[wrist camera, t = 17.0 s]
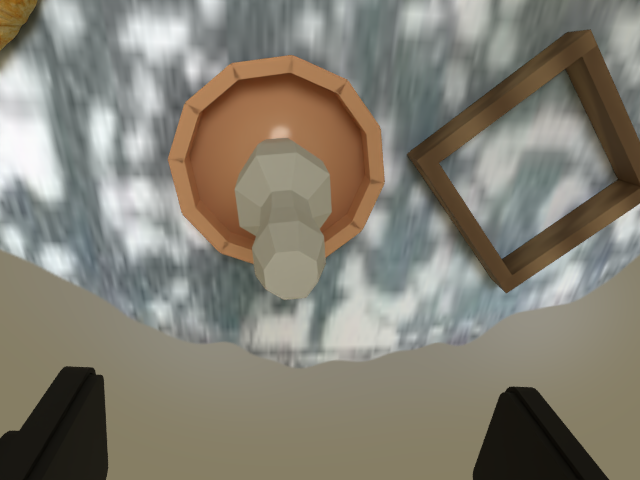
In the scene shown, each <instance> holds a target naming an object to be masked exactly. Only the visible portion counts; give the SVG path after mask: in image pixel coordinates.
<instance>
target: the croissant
mask: <svg viewBox="0 0 640 480" xmlns="http://www.w3.org/2000/svg"><path fill="white" fill-rule="evenodd" d="M36 4H37V0H0V51H1V50H2V49H3V48H4V47H5V46H6V45H7V43H9V42H10V41H12V40H13V39H14V38H15V36H16V35H17V34H18V32H19V30H20V28H21V26H22V25H23V24H25V23H26V22H27V20H28V17H29V15H30V14H31V12H32V11H33V10H34V8H35V6H36Z"/></svg>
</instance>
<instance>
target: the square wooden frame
mask: <svg viewBox="0 0 640 480" xmlns="http://www.w3.org/2000/svg"><path fill="white" fill-rule="evenodd" d="M564 69H566V71H567V73H568V75H569V78H570V80H571V82H572V84H573V86H574V88H575V90H576V92H577V94H578V96H579V98H580V101H581V103H582V105H583V107H584V109H585V111H586V113H587V115H588V117H589V119H590V121H591V124H592V126H593V128H594V130H595V132H596V134H597V136H598V138H599V140H600V142H601V145H602V147H603V149H604V151H605V153H606V155H607V157H608V159H609V161H610V163H611V165H612V168H613V170H614V172H615V174H616V176H617V178H618V180H617V181H615V182H614V183H612V184H611V185H609V186H608V187H606V188H605V189H604V190H602V191H601V192H599V193H598V194H596V195H595V196H593V197H592V198H590V199H589V200H588V201H586V202H585V203H583V204H582V205H580V206H579V207H577V208H576V209H575V210H573V211H572V212H570V213H569V214H567V215H566V216H564V217H563V218H561V219H560V220H559V221H557V222H556V223H554V224H553V225H551V226H550V227H548V228H547V229H545V230H544V231H543V232H541V233H540V234H538V235H537V236H535V237H534V238H532V239H531V240H530V241H528V242H527V243H525V244H524V245H522V246H521V247H519V248H518V249H516V250H515V251H514V252H512V253H511V254H509V255H508V256H506V257H505V258H503V259H501V258H500V256H499V254H498V253H497V251H496V250H495V248H494V247H493V245H492V244H491V242H490V241H489V239H488V238H487V236H486V235H485V233H484V232H483V230H482V228H481V227H480V225H479V224H478V222H477V221H476V219H475V218H474V216H473V215H472V213H471V212H470V210H469V209H468V207H467V205H466V204H465V202H464V201H463V199H462V198H461V196H460V195H459V193H458V192H457V190H456V189H455V187H454V186H453V184H452V182H451V181H450V179H449V178H448V176H447V175H446V173H445V172H444V170H443V169H442V167H441V166H440V164H439V163H440V162H441V161H442V160H444V159H445V158H446V157H448V156H449V155H450V154H452V153H453V152H454V151H456V150H457V149H458V148H460V147H461V146H462V145H464V144H465V143H466V142H468V141H469V140H470V139H472V138H473V137H474V136H476V135H477V134H478V133H480V132H481V131H483V130H484V129H485V128H487V127H488V126H489V125H491V124H492V123H493V122H495V121H496V120H497V119H499V118H500V117H501V116H503V115H504V114H505V113H507V112H508V111H509V110H511V109H512V108H513V107H515V106H516V105H517V104H519V103H520V102H521V101H523V100H524V99H525V98H527V97H528V96H529V95H531V94H532V93H534V92H535V91H536V90H538V89H539V88H540V87H542V86H543V85H544V84H546V83H547V82H548V81H550V80H551V79H552V78H554V77H555V76H556V75H558V74H559V73H560V72H562V71H563V70H564ZM407 155H408V156H409V158H410V159H411V161H412V162H413V164H414V165H415V167H416V168H417V170H418V171H419V173H420V174H421V176H422V177H423V179H424V180H425V181H426V183H427V184H428V186H429V187H430V189H431V190H432V192H433V193H434V195H435V196H436V198H437V199H438V201H439V202H440V204H441V205H442V207H443V208H444V209H445V211H446V212H447V214H448V215H449V217H450V218H451V220H452V221H453V223H454V224H455V226H456V227H457V229H458V230H459V232H460V233H461V234H462V236H463V237H464V239H465V240H466V242H467V243H468V245H469V246H470V248H471V249H472V251H473V252H474V254H475V255H476V257H477V258H478V260H479V261H480V262H481V264H482V265H483V267H484V268H485V270H486V271H487V273H488V274H489V276H490V277H491V279H492V280H493V281H494V282H495V283H496V284H497V285H498V286H499V287H500V288H501V289H502V290H503V291H504V292H505V293H508V292H509V291H511V290H512V289H514V288H515V287H517V286H518V285H520V284H521V283H523V282H524V281H526V280H527V279H528V278H530V277H531V276H533V275H534V274H536V273H537V272H539V271H540V270H542V269H543V268H545V267H546V266H548V265H549V264H551V263H552V262H554V261H555V260H557V259H558V258H560V257H561V256H563V255H564V254H566V253H567V252H569V251H570V250H571V249H573V248H574V247H576V246H577V245H579V244H580V243H582V242H583V241H585V240H586V239H588V238H589V237H591V236H592V235H594V234H595V233H597V232H598V231H600V230H601V229H603V228H604V227H606V226H607V225H609V224H610V223H612V222H613V221H615V220H616V219H617V218H619V217H620V216H622V215H623V214H625V213H626V212H628V211H629V210H631V209H632V208H634V207H635V206H637V205H638V204H640V141H639V139H638V137H637V134H636V132H635V130H634V128H633V125H632V123H631V121H630V118H629V116H628V114H627V112H626V109H625V107H624V105H623V102H622V100H621V98H620V96H619V93H618V91H617V89H616V86H615V84H614V82H613V80H612V77H611V75H610V73H609V70H608V68H607V66H606V64H605V61H604V59H603V57H602V54H601V52H600V50H599V48H598V45H597V43H596V41H595V38H594V36H593V34H592V32H591V30H583V31H574V32H567V33H566V34H564V35H563V36H562V37H560V38H559V39H558V40H556V41H555V42H554V43H552V44H551V45H550V46H548V47H547V48H546V49H544V50H543V51H542V52H541V53H539V54H538V55H537V56H535V57H534V58H533V59H531V60H530V61H529V62H527V63H526V64H525V65H523V66H522V67H521V68H519V69H518V70H517V71H515V72H514V73H513V74H512V75H510V76H509V77H508V78H506V79H505V80H504V81H502V82H501V83H500V84H498V85H497V86H496V87H494V88H493V89H492V90H490V91H489V92H488V93H486V94H485V95H484V96H483V97H481V98H480V99H479V100H477V101H476V102H475V103H473V104H472V105H471V106H469V107H468V108H467V109H465V110H464V111H463V112H461V113H460V114H459V115H457V116H456V117H455V118H453V119H452V120H451V121H450V122H448V123H447V124H446V125H444V126H443V127H442V128H440V129H439V130H438V131H436V132H435V133H434V134H432V135H431V136H430V137H428V138H427V139H426V140H424V141H423V142H422V143H421V144H419V145H418V146H417V147H415V148H414V149H413V150H411V151H410V152H409V153H407Z"/></svg>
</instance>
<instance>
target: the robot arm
mask: <svg viewBox="0 0 640 480" xmlns="http://www.w3.org/2000/svg"><path fill="white" fill-rule="evenodd" d="M107 471H108V453H107V433H106V413H105V395H104V379H103V376H102V375H96V373H95V370H94V368H90V367H68V366H66V367H64V368H63V369H62V370H61V371H60V373H59V374H58V375H57V377H56V378H55V380H54V381H53V383H52V384H51V385H50V387H49V388H48V390H47V391H46V393H45V394H44V396H43V397H42V398H41V400H40V402H39V403H38V404H37V406H36V407H35V409H34V410H33V412H32V413H31V415H30V416H29V417H28V419H27V420H26V422H25V423H24V425H23V426H22V428H21V429H20V431H8V432H7V433H5V434H4V435H3V436H2V437H1V438H0V480H106V477H107ZM473 480H609V479H608V478H607V476H606V475H605V474H604V473H603V472H602V470H601V469H600V468H599V466H598V465H597V464H596V463H595V462H594V460H593V459H592V458H591V457H590V455H589V454H588V453H587V452H586V450H585V449H584V448H583V447H582V445H581V444H580V443H579V442H578V441H577V439H576V438H575V437H574V436H573V434H572V433H571V432H570V430H569V429H568V428H567V427H566V426H565V424H564V423H563V422H562V421H561V419H560V418H559V417H558V416H557V414H556V413H555V412H554V411H553V409H552V408H551V407H550V406H549V404H548V403H547V402H546V401H545V400H544V398H543V397H542V396H541V395H540V393H539V392H538V391H537V390H536V389H534V388H532V387H509V388H508V389H507V390H506V391H505V392H504V393H502V394H501V395H500V397H499V399H498V402H497V405H496V408H495V410H494V413H493V416H492V419H491V422H490V425H489V428H488V431H487V434H486V436H485V439H484V442H483V445H482V448H481V450H480V453H479V456H478V459H477V462H476V464H475V467H474V471H473Z"/></svg>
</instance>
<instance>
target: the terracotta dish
mask: <svg viewBox="0 0 640 480" xmlns="http://www.w3.org/2000/svg"><path fill="white" fill-rule="evenodd" d="M276 138H289V139H290V140H292V141H294V142H295V143H297V144H298V145H300V146H301V147H303V148H304V149H306V150H307V151H308V152H310V153H311V154H313V155H314V156H316V157H317V158H319V159H320V160H322V161H323V163H324V164H325V166H326V168H327V170H328V172H329V174H330V188H331V206H332V213H331V214H330V215H329V217H328V218H327V220H326V221H325V222H324V224H323V225H322V227H321V228H320V231H321V232H322V234H323V235H324V243H325V258H326V257H327V256H329V255H330V254H331V253H333V252H334V251H335V250H337V249H338V248H339V247H341V246H342V245H343V244H345V243H346V242H348V241H349V240H350V239H352V238H353V237H354V236H356V235H357V234H358V233H360V232H361V231H362V230H363V228H364V226H365V224H366V222H367V220H368V217H369V215H370V213H371V211H372V209H373V207H374V205H375V202H376V200H377V198H378V196H379V194H380V192H381V190H382V188H383V185H384V183H383V182H385V180H384V166H383V153H382V139H381V129H380V126H379V125H378V123H377V122H376V120H375V119H374V118H373V116H372V115H371V113H370V112H369V110H368V109H367V107H366V106H365V104H364V103H363V102H362V100H361V99H360V97H359V96H358V94H357V93H356V91H355V90H354V88H353V87H352V86H351V84H350V83H349V81H348V80H347V79H344V78H342V77H340V76H338V75H336V74H333V73H331V72H329V71H327V70H324V69H322V68H320V67H318V66H316V65H313V64H311V63H309V62H307V61H305V60H302V59H300V58H298V57H296V56H293V55H288V56H281V57H273V58H266V59H259V60H251V61H244V62H237V63H232V64H230V65H228V66H227V67H226V68H225V69H224V70H223V71H221V72H220V73H219V74H218V75H217V76H216V77H214V78H213V79H212V80H211V81H210V82H209V83H207V84H206V85H205V86H204V87H203V88H202V89H200V90H199V91H198V92H197V93H196V94H195V95H193V96H192V97H191V98H190V99H189V100H188V101H186V102H185V104H184V107H183V111H182V114H181V117H180V120H179V124H178V127H177V130H176V134H175V137H174V140H173V144H172V147H171V150H170V154H169V157H168V161H169V165H170V169H171V173H172V177H173V181H174V185H175V188H176V192H177V196H178V200H179V204H180V208H181V212H182V213H183V215H184V216H185V217H186V218H187V219H188V220H189V221H190V222H191V224H192V225H193V226H194V227H195V228H196V229H197V230H198V231H199V232H200V233H201V234H202V235H203V236H204V237H205V238H206V239H207V240H208V241H209V242H210V243H211V244H212V245H213V246H214V247H215V248H216V249H217V250H218V251H219V252H221V253H222V254H225V255H228V256H231V257H234V258H237V259H240V260H243V261H246V262H249V263H252V264H254V261H253V253H252V246H253V243H254V241H255V238H256V236H255V235H253V234H251V233H250V232H248V231H246V230H245V229H243V228H241V227H240V225H239V217H238V210H237V203H236V196H235V186H236V183H237V179H238V176H239V173H240V172H241V170H242V168H243V167H244V165H245V164H246V162H247V161H248V159H249V157H250V156H251V154H252V153H253V151H254V149H255V148H256V146H257V145H258V144H259V143H261V142H262V141H264V140H265V139H276Z"/></svg>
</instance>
